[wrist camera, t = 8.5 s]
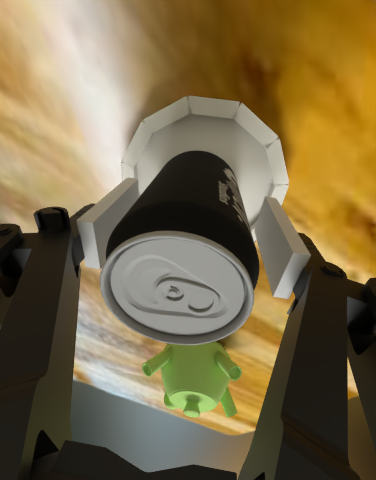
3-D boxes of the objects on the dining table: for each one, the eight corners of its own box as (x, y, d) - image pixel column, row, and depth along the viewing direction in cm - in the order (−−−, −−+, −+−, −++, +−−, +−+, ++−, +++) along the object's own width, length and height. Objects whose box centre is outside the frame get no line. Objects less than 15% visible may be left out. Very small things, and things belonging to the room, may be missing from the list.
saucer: (132, 238, 23) (126, 247, 21) (124, 87, 15) (115, 86, 14) (256, 257, 22) (258, 267, 21) (307, 109, 15) (316, 110, 14)
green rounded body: (164, 362, 35) (151, 427, 28) (153, 317, 29) (132, 385, 22) (234, 368, 34) (238, 438, 27) (237, 321, 28) (244, 395, 21)
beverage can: (170, 134, 16) (96, 189, 6) (251, 166, 17) (308, 265, 7) (150, 210, 20) (82, 325, 9) (218, 234, 20) (220, 365, 10)
